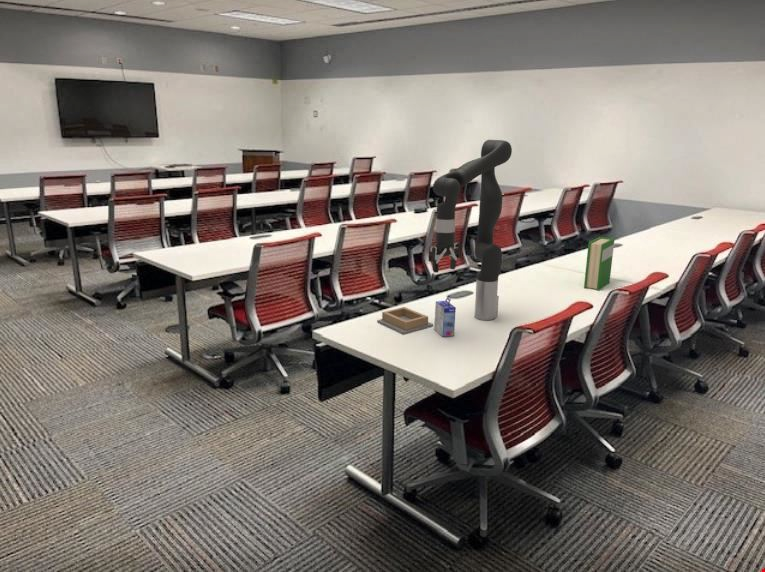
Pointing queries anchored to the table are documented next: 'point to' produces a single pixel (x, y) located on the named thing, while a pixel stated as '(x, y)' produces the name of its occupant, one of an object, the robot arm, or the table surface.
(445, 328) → the ink cartridge box
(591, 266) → the hardback book
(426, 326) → the pocket holder
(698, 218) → the table surface
